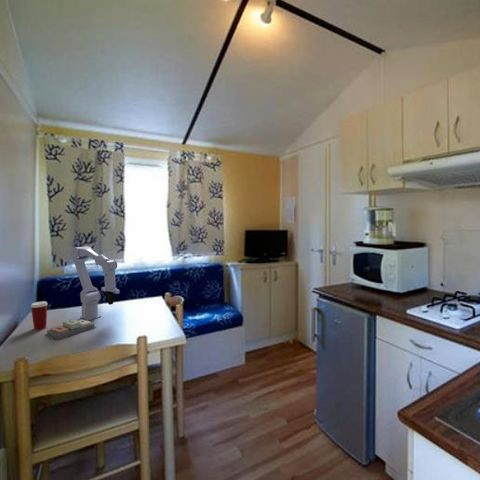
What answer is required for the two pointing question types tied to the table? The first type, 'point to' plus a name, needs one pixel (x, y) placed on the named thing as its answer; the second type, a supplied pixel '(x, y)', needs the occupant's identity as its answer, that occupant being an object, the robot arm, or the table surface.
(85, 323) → the key one
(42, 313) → the paper cup
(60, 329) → the key three
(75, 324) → the key two
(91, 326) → the keypad board
